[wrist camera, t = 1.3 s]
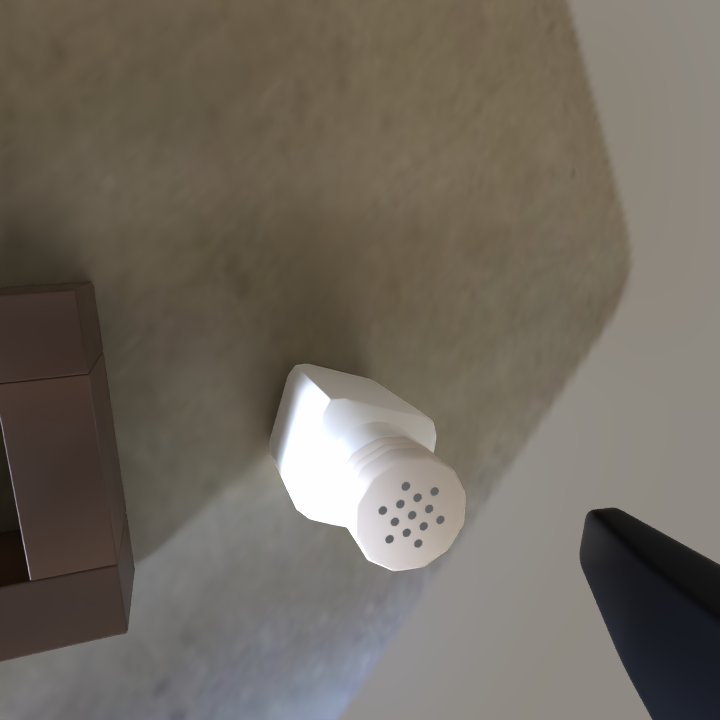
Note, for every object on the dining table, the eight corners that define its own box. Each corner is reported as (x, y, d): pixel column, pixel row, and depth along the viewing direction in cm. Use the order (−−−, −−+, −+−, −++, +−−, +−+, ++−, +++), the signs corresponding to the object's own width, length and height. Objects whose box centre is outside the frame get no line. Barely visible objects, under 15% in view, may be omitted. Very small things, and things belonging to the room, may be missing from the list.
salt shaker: (262, 452, 24) (318, 578, 15) (289, 356, 23) (363, 427, 14) (354, 469, 25) (455, 594, 16) (380, 379, 25) (499, 456, 16)
